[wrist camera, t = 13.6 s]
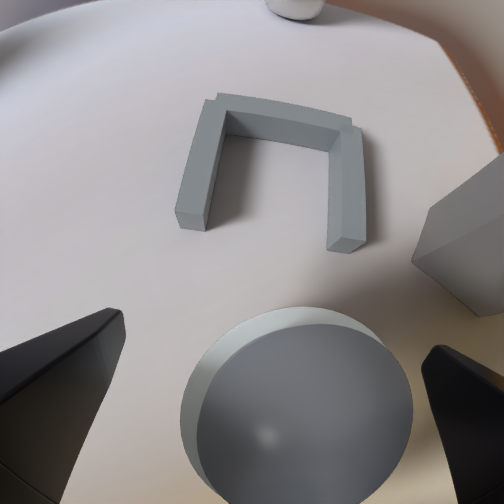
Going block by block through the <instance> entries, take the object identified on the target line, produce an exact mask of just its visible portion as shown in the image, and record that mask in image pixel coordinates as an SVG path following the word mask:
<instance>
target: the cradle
mask: <svg viewBox="0 0 504 504" xmlns="http://www.w3.org/2000/svg"><path fill="white" fill-rule="evenodd" d="M225 134H231V135H238V136H245V137H252V138H258V139H264V140H270V141H276V142H281V143H287V144H292V145H297V146H302V147H307V148H312V149H317V150H321V151H326V152H329V199H328V229H327V249H326V250H328V251H334V252H341V253H347V254H350V253H351V252H352V251H354V250H355V249H357V248H358V247H359V246H361V245H362V244H363V243H365V242H366V194H365V173H364V157H363V144H362V133H361V128H358V127H354V126H352V118H350V117H346V116H342V115H338V114H334V113H330V112H326V111H322V110H318V109H313V108H309V107H304V106H299V105H294V104H289V103H284V102H279V101H273V100H267V99H261V98H255V97H248V96H241V95H233V94H225V93H217V97H216V100H207V99H205V102H204V105H203V109H202V112H201V115H200V118H199V122H198V125H197V128H196V132H195V135H194V138H193V142H192V145H191V149H190V153H189V156H188V160H187V163H186V167H185V171H184V175H183V179H182V182H181V186H180V190H179V194H178V198H177V203H176V207H175V214H176V217H177V220H178V223H179V226H180V228H184V229H191V230H198V231H204V232H205V230H206V225H207V219H208V214H209V209H210V204H211V199H212V194H213V189H214V184H215V179H216V175H217V170H218V165H219V161H220V156H221V152H222V147H223V143H224V138H225Z"/></svg>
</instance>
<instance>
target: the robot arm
mask: <svg viewBox="0 0 504 504" xmlns="http://www.w3.org/2000/svg"><path fill="white" fill-rule="evenodd" d="M125 338H126V331H125V324H124V317H123V313H122V311H121V310H118V309H114V308H106V309H103V310H101V311H98V312H96V313H93V314H91V315H89V316H86V317H84V318H81V319H79V320H77V321H74V322H72V323H69V324H67V325H65V326H62V327H60V328H57V329H55V330H52V331H50V332H48V333H45V334H43V335H40V336H38V337H36V338H33V339H31V340H28V341H26V342H24V343H21V344H19V345H16V346H14V347H12V348H9V349H7V350H4V351H2V352H0V504H60V501H61V498H62V495H63V493H64V490H65V488H66V485H67V482H68V480H69V477H70V475H71V472H72V470H73V467H74V465H75V462H76V460H77V458H78V455H79V453H80V450H81V448H82V446H83V443H84V441H85V439H86V436H87V434H88V432H89V430H90V427H91V425H92V423H93V421H94V418H95V416H96V414H97V412H98V410H99V408H100V405H101V403H102V401H103V399H104V397H105V395H106V393H107V390H108V388H109V386H110V384H111V381H112V378H113V375H114V372H115V369H116V366H117V363H118V360H119V357H120V354H121V351H122V349H123V346H124V343H125ZM421 372H422V376H423V380H424V383H425V387H426V391H427V395H428V399H429V403H430V407H431V410H432V413H433V416H434V419H435V422H436V425H437V428H438V431H439V435H440V438H441V441H442V444H443V448H444V451H445V454H446V458H447V461H448V465H449V469H450V472H451V476H452V480H453V484H454V488H455V492H456V497H457V501H458V504H504V377H503V376H501V375H499V374H498V373H496V372H494V371H492V370H490V369H489V368H487V367H485V366H483V365H481V364H479V363H478V362H476V361H474V360H472V359H470V358H469V357H467V356H465V355H463V354H461V353H459V352H458V351H456V350H454V349H452V348H450V347H448V346H446V345H435V346H434V347H433V348H432V350H431V351H430V353H429V354H428V356H427V357H426V359H425V360H424V361H423V363H422V367H421Z"/></svg>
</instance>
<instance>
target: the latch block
mask: <svg viewBox="0 0 504 504" xmlns="http://www.w3.org/2000/svg"><path fill="white" fill-rule="evenodd" d="M411 262H412V263H413V264H415V265H416V266H417V267H419V268H420V269H421V270H422V271H424V272H425V273H426V274H428V275H429V276H430V277H431V278H433V279H434V280H435V281H436V282H438V283H439V284H440V285H441V286H443V287H444V288H445V289H446V290H448V291H449V292H450V293H451V294H453V295H454V296H455V297H456V298H457V299H459V300H460V301H461V302H462V303H463V304H465V305H466V306H467V307H468V308H469V309H470V310H472V311H473V312H474V313H475V314H476V315H477V316H479V317H484V316H490V315H495V314H500V313H504V152H503V153H502V154H500V155H499V156H498V157H497V158H495V159H494V160H493V161H492V162H490V163H489V164H488V165H487V166H485V167H484V168H483V169H481V170H480V171H479V172H478V173H476V174H475V175H474V176H472V177H471V178H470V179H468V180H467V181H466V182H464V183H463V184H462V185H460V186H459V187H458V188H456V189H455V190H454V191H452V192H451V193H450V194H448V195H447V196H446V197H444V198H443V199H442V200H440V201H439V202H437V203H436V204H435V205H433V206H432V207H430V209H429V212H428V216H427V219H426V222H425V225H424V228H423V230H422V233H421V236H420V239H419V242H418V245H417V247H416V250H415V253H414V255H413V258H412V260H411Z"/></svg>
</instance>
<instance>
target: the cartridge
mask: <svg viewBox="0 0 504 504" xmlns="http://www.w3.org/2000/svg"><path fill="white" fill-rule="evenodd" d="M412 421H413V402H412V394H411V390H410V386H409V383H408V380H407V377H406V375H405V373H404V371H403V369H402V367H401V365H400V364H399V362H398V361H397V360H396V358H395V357H394V356H393V354H392V353H391V352H390V351H389V350H388V349H387V348H386V346H385V345H384V344H383V343H382V341H381V340H380V339H379V338H378V337H377V336H376V335H375V334H374V333H373V332H372V331H371V330H370V329H368V328H367V327H366V326H364V325H363V324H361V323H360V322H358V321H357V320H355V319H353V318H351V317H349V316H347V315H344V314H341V313H339V312H336V311H333V310H328V309H323V308H316V307H289V308H283V309H278V310H273V311H270V312H266V313H263V314H260V315H257V316H255V317H253V318H251V319H249V320H246V321H244V322H242V323H241V324H239V325H238V326H236V327H234V328H233V329H231V330H230V331H228V332H227V333H226V334H225V335H223V336H222V337H221V338H220V339H218V340H217V341H216V342H215V343H214V344H213V345H212V346H211V347H210V348H209V350H208V351H207V352H206V353H205V354H204V356H203V357H202V358H201V360H200V361H199V362H198V364H197V365H196V367H195V369H194V371H193V373H192V374H191V376H190V378H189V381H188V383H187V386H186V389H185V391H184V395H183V400H182V404H181V414H180V427H181V436H182V441H183V445H184V449H185V451H186V454H187V456H188V458H189V461H190V463H191V464H192V466H193V468H194V469H195V471H196V472H197V474H198V475H199V476H200V477H201V479H202V480H203V481H204V482H205V483H206V484H207V485H208V486H209V487H210V488H211V489H212V490H213V491H214V492H216V493H217V494H218V495H220V496H221V497H222V498H223V499H224V500H226V501H227V502H228V503H229V504H359V503H361V502H362V501H364V500H365V499H366V498H368V497H369V496H370V495H371V494H373V493H374V492H375V491H376V490H377V489H378V488H379V487H380V486H381V485H382V484H383V483H384V482H385V481H386V480H387V478H388V477H389V476H390V474H391V473H392V472H393V470H394V469H395V468H396V466H397V464H398V462H399V461H400V459H401V457H402V455H403V453H404V450H405V448H406V446H407V443H408V440H409V436H410V433H411V427H412Z"/></svg>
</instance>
